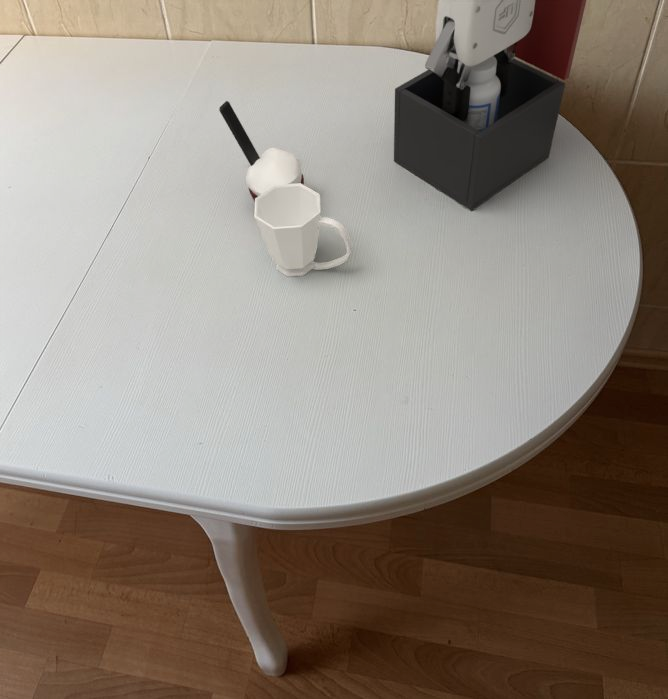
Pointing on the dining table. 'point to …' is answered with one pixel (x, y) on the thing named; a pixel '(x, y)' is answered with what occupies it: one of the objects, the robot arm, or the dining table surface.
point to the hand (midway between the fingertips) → (474, 101)
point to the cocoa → (262, 159)
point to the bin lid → (552, 36)
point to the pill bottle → (483, 94)
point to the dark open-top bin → (476, 134)
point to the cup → (294, 228)
